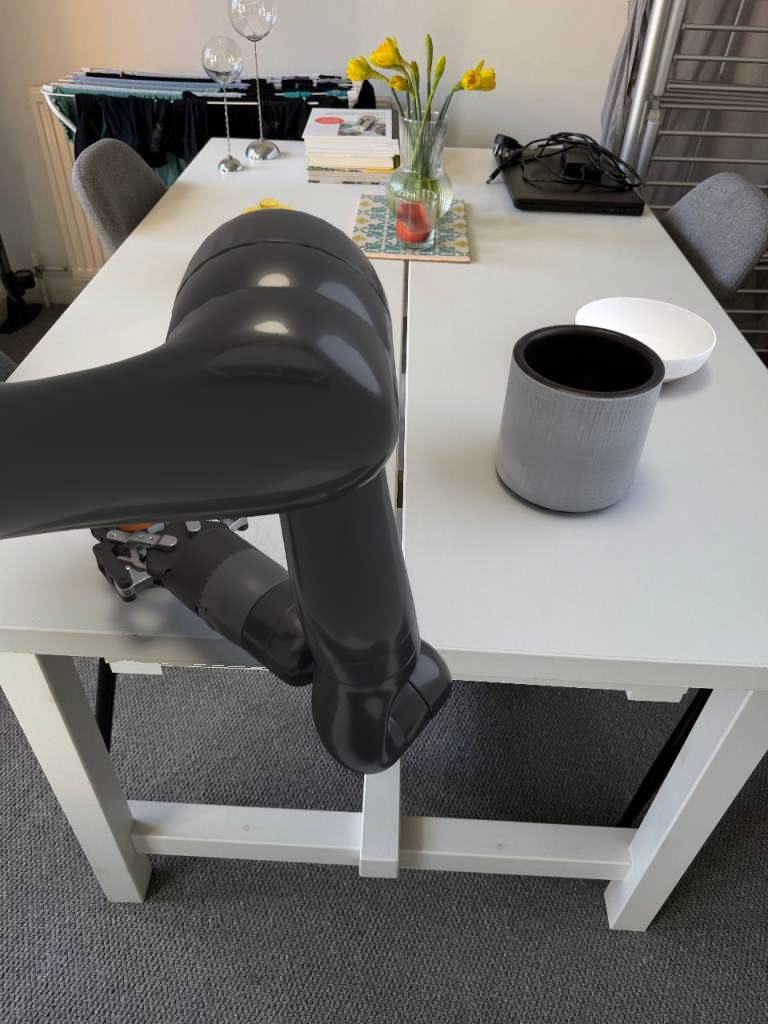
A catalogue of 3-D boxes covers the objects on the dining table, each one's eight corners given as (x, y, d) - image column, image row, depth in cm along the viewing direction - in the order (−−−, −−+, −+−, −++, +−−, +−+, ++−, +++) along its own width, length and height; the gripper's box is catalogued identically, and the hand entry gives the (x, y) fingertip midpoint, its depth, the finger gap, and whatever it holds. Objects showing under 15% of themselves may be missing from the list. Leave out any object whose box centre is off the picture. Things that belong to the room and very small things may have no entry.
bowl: (652, 327, 117) (662, 290, 113) (732, 388, 103) (747, 348, 99) (543, 343, 112) (549, 305, 108) (611, 409, 98) (622, 368, 94)
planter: (549, 421, 95) (571, 309, 85) (657, 478, 86) (697, 361, 76) (465, 470, 87) (480, 352, 77) (576, 539, 78) (609, 416, 68)
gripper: (298, 515, 63) (179, 439, 72) (159, 606, 55) (43, 508, 63) (302, 576, 68) (191, 498, 77) (175, 668, 60) (65, 569, 68)
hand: (124, 503), depth 70 cm, fingers closed on supplement bottle, 6 cm apart
